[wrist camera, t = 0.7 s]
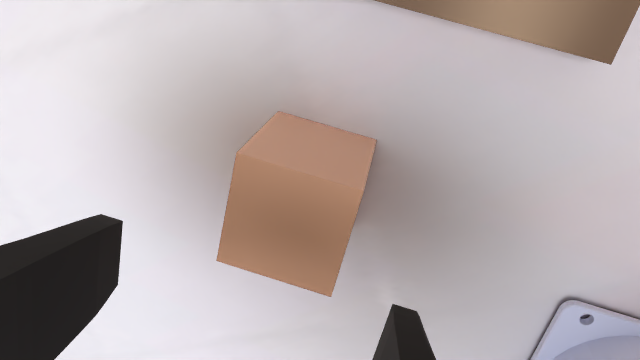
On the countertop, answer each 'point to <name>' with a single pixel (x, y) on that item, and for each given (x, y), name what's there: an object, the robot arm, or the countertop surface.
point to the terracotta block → (295, 201)
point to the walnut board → (542, 21)
